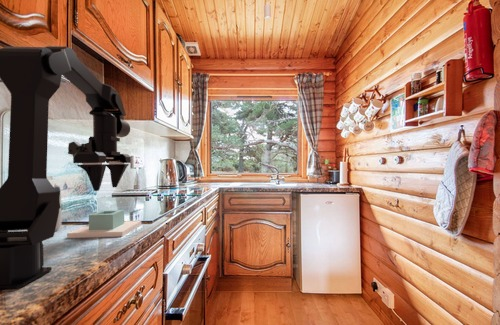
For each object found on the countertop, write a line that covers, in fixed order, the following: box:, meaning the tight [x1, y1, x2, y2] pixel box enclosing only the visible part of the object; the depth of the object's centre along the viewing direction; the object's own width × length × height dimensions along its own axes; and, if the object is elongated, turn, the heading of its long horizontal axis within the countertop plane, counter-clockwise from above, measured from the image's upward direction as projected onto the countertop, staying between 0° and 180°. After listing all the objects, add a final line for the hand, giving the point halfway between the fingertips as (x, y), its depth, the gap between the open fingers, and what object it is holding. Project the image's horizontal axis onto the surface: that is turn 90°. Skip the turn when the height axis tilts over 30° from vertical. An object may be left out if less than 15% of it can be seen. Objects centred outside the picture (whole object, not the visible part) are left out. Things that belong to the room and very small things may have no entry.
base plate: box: [66, 211, 142, 239], centre depth 69 cm, size 12×14×5 cm
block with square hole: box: [88, 209, 125, 230], centre depth 69 cm, size 6×6×4 cm
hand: (106, 188), depth 69 cm, fingers open, 9 cm apart
